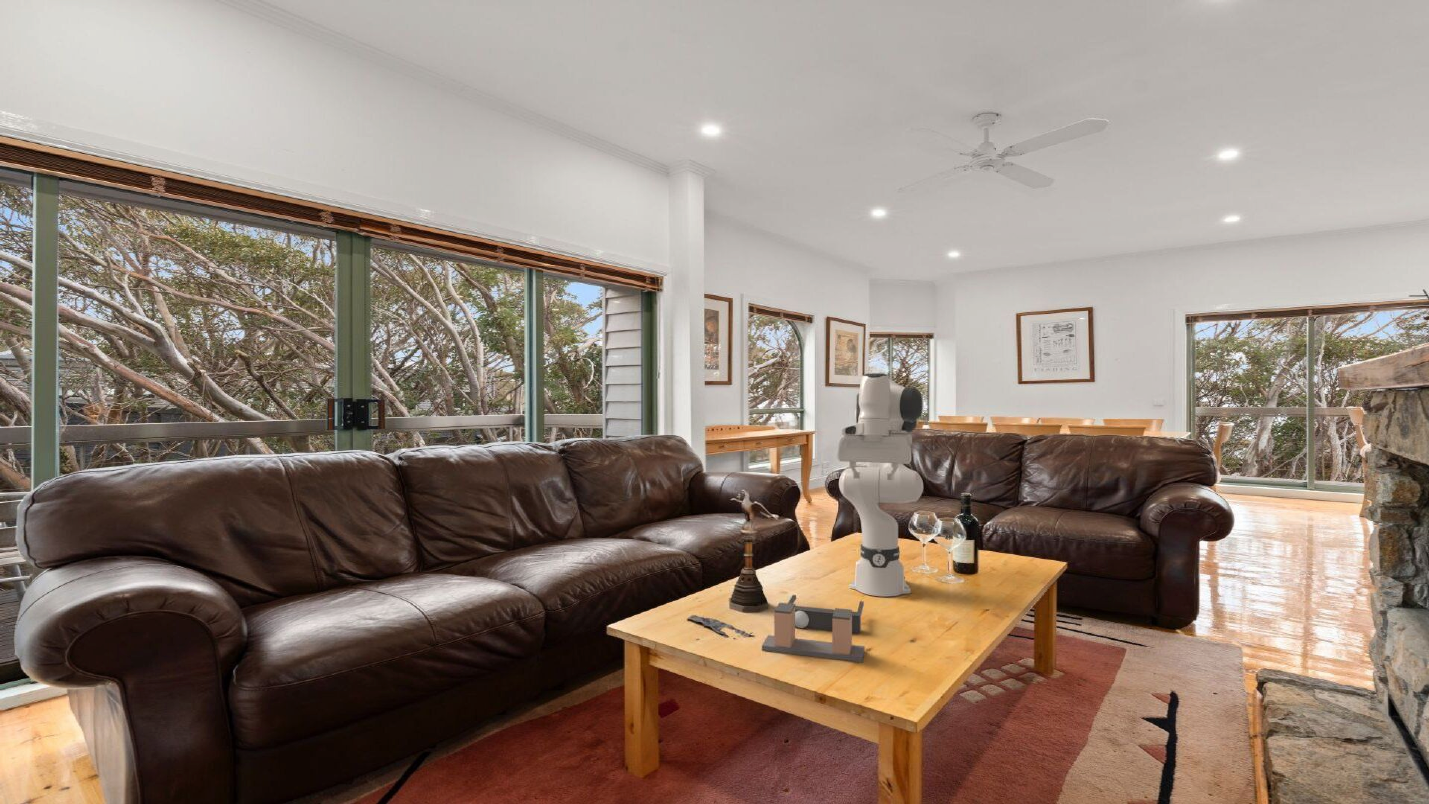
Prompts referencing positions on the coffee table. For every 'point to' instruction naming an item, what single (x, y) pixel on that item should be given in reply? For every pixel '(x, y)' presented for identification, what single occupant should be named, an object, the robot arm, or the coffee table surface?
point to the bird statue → (749, 560)
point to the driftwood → (717, 625)
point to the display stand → (832, 650)
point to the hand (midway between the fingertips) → (873, 479)
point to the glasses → (822, 617)
